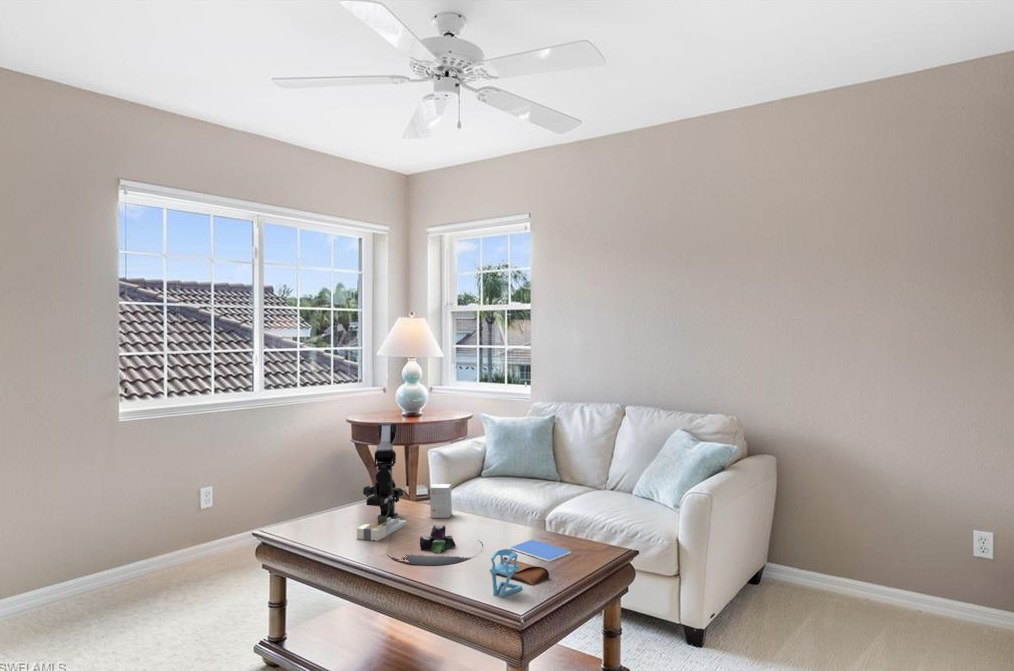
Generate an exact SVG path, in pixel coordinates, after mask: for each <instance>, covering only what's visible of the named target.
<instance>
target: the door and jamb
mask: <svg viewBox="0 0 1014 671" xmlns="http://www.w3.org/2000/svg"><path fill="white" fill-rule="evenodd" d="M407 523H408V521H407V520H404V519H400V518H399V517H398V518H391V517H389V518H387V522H386V525H384V526H382V525H379V526H377V527H375V528H373V529H372V528H368V527H370V526H372V525H373V524H372V523H365V524H363V525H361V526H358V527H357V528H356V539H357V538H358V540H364V539H367V540H366V541H373V540H375V542H378V541H380V540H381V539H384V538H385V537H387V536H388V535H390V534H392V533H394V532H396V531H398V530H400V529H401V528H402V527H404V526H406V525H407Z"/></svg>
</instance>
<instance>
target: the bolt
mask: <svg viewBox="0 0 1014 671" xmlns="http://www.w3.org/2000/svg"><path fill="white" fill-rule="evenodd" d="M386 522H387V515H381V513H380V514H379V515H377V522H376V523H374V524H372V526H370V527H368V528H372V529H373V528H375V527H377V526H379V525H382V526H384V525H386Z"/></svg>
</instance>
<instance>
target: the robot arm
mask: <svg viewBox="0 0 1014 671" xmlns="http://www.w3.org/2000/svg"><path fill="white" fill-rule="evenodd" d="M376 426H377V428H376V429H377V431H376V432H377V433H376V434H377V435H378V437H379V438H378V439H379V441H380V442H379V444H377V445H376V450H374V461H373V464H374V468H377V472H376V475H375V480H376V482H375V483H374V485H372V486H370V485H368V486H365V487H363V488H362V489H363V490H362V494H363V495H364V496H366V498H367V499H366V502H365V503H366V506H371V507H379V509H380V514H381V515H387V518H389V517H391V519H393V517H396V516H398V515H399V513H398V512H396V511H395V510H396V508H395V506H396V504H395V503H398V502H400V497H402V496H403V495H404V491H403V489H402V488H401V487H398V488H397V485H396V483H395V480H394V479H393V467H394V466H395V464H396V460H397V453H396V451H395V450H394V449H393V444H394V442H395V440H396V436H397V435H398V425H397V424H395V423H392V422H382V423H380V424H377V425H376Z"/></svg>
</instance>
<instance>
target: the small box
mask: <svg viewBox="0 0 1014 671" xmlns="http://www.w3.org/2000/svg"><path fill="white" fill-rule="evenodd" d="M429 491H430V495H429V496H430V498H429V499H430V518H432V519H434V518H435V519H450V517H451V515H452V514H453V512H452V511H453V510H452V508H453V507H452V505H453V504H452V484H450V483H444V484H441V483H439V484H437V483H434V484H432V485H431V486H430V487H429Z"/></svg>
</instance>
